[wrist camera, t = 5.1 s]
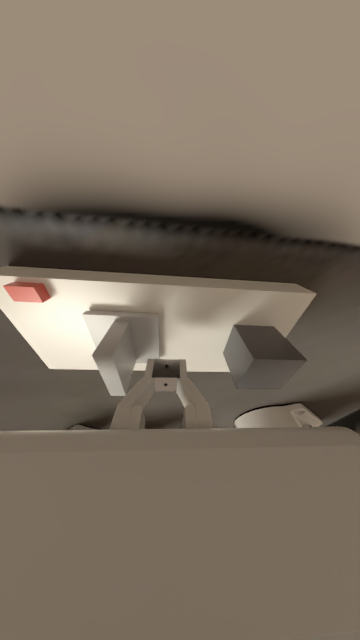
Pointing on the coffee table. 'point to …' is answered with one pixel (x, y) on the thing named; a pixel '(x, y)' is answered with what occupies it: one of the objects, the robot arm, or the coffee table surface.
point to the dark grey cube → (260, 357)
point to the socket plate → (142, 311)
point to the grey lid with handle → (122, 344)
